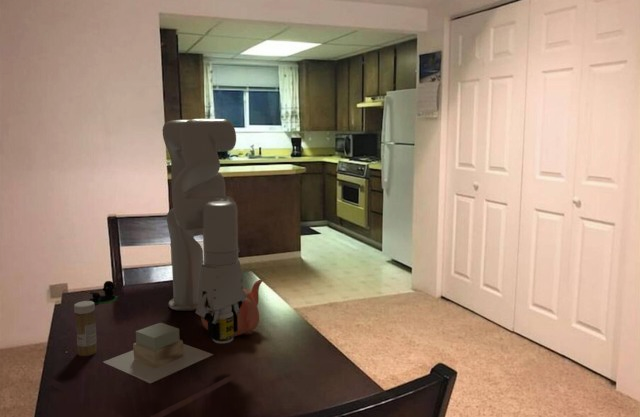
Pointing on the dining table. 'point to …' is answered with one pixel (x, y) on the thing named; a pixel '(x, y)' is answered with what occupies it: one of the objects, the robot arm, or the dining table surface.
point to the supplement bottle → (225, 325)
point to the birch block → (158, 354)
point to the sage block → (157, 336)
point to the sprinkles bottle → (85, 328)
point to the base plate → (152, 374)
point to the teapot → (246, 312)
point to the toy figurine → (108, 294)
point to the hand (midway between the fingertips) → (223, 333)
